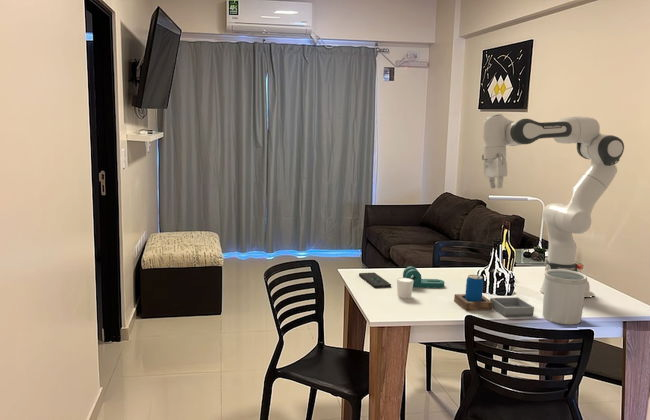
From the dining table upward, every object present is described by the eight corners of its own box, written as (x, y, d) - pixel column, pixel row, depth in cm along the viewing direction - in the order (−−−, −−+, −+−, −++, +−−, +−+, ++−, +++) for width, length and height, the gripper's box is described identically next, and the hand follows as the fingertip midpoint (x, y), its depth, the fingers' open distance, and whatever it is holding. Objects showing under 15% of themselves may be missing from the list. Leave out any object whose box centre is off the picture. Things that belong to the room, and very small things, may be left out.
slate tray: (517, 305, 232) (517, 297, 231) (533, 315, 220) (534, 307, 220) (489, 306, 229) (490, 297, 229) (504, 316, 218) (505, 308, 217)
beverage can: (481, 309, 226) (484, 279, 224) (464, 307, 227) (467, 278, 225) (480, 303, 232) (483, 275, 230) (464, 302, 233) (466, 273, 231)
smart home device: (374, 285, 247) (358, 272, 266) (374, 289, 248) (358, 276, 266) (392, 284, 250) (374, 272, 269) (391, 288, 250) (374, 275, 269)
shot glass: (415, 295, 239) (416, 279, 238) (408, 299, 234) (409, 283, 233) (400, 292, 243) (401, 276, 242) (393, 296, 237) (394, 279, 236)
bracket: (405, 287, 251) (406, 270, 250) (402, 283, 258) (403, 266, 256) (445, 288, 252) (447, 271, 251) (441, 284, 259) (443, 267, 258)
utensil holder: (551, 325, 211) (556, 279, 208) (533, 311, 225) (538, 268, 222) (589, 325, 212) (595, 280, 209) (569, 312, 227) (574, 269, 224)
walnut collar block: (479, 300, 236) (480, 293, 236) (492, 309, 225) (493, 302, 225) (454, 301, 234) (454, 294, 233) (465, 310, 223) (466, 303, 223)
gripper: (510, 152, 225) (512, 187, 225) (495, 155, 245) (496, 188, 246) (494, 153, 225) (495, 188, 225) (480, 156, 245) (482, 188, 246)
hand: (496, 188), depth 236 cm, fingers open, 8 cm apart
